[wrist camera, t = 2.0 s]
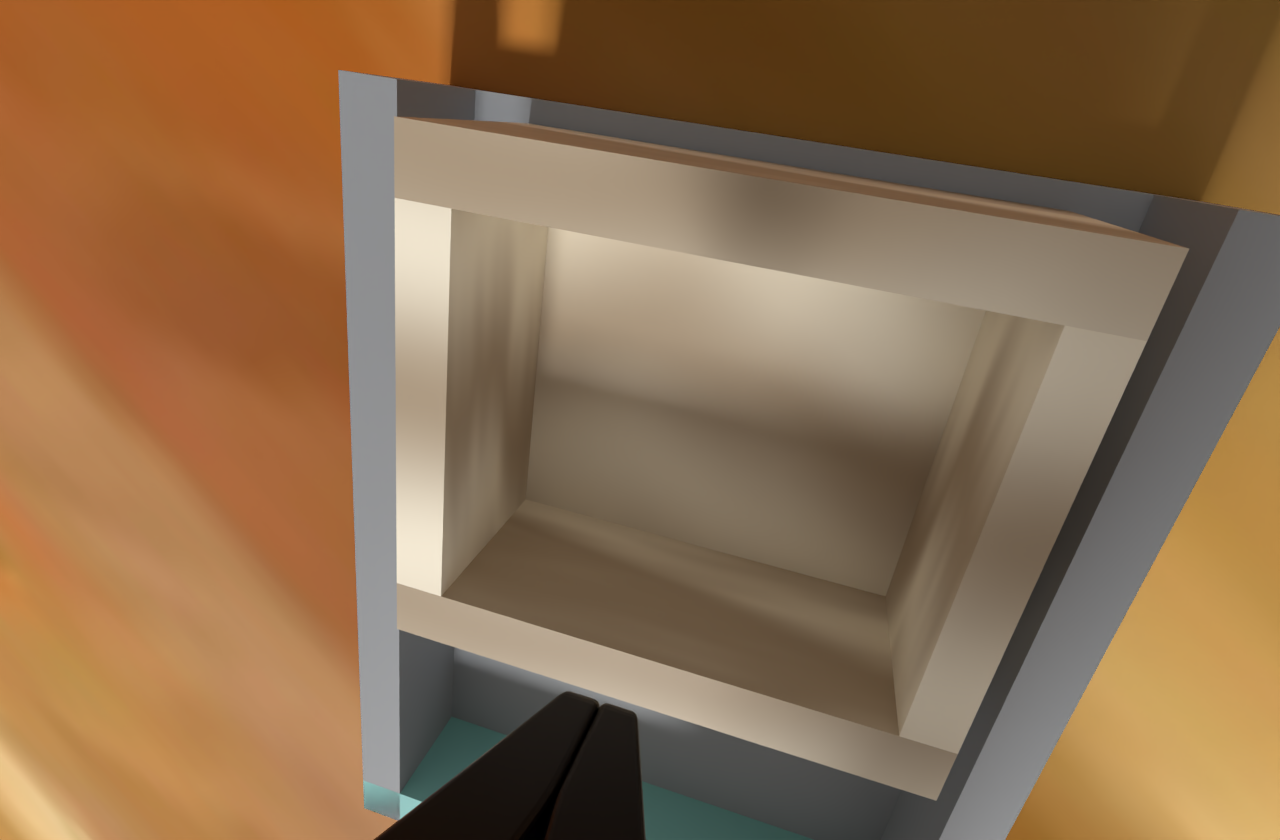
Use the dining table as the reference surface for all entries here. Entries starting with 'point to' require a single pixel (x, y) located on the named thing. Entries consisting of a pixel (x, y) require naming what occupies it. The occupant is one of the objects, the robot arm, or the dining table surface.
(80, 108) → the dining table surface
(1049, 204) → the bay
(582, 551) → the crate
